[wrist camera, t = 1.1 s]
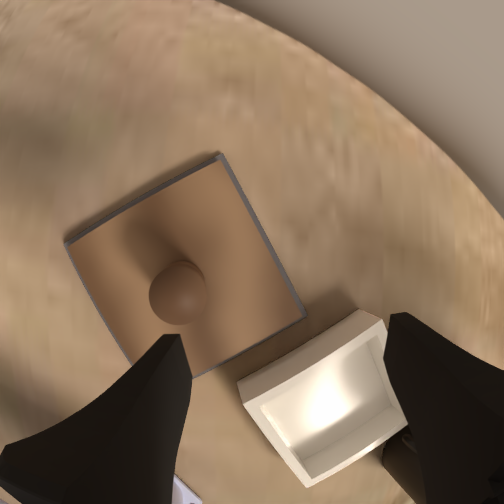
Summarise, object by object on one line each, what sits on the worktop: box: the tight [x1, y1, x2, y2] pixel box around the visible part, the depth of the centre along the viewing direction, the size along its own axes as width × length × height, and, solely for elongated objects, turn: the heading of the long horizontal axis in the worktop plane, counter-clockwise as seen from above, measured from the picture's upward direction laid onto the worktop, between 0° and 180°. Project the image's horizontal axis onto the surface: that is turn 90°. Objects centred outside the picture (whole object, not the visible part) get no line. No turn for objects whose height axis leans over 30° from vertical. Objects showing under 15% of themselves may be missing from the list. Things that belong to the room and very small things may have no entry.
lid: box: [67, 160, 302, 376], centre depth 18 cm, size 12×12×5 cm
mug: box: [383, 424, 427, 504], centre depth 21 cm, size 9×12×9 cm
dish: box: [237, 309, 408, 488], centre depth 22 cm, size 11×11×4 cm
